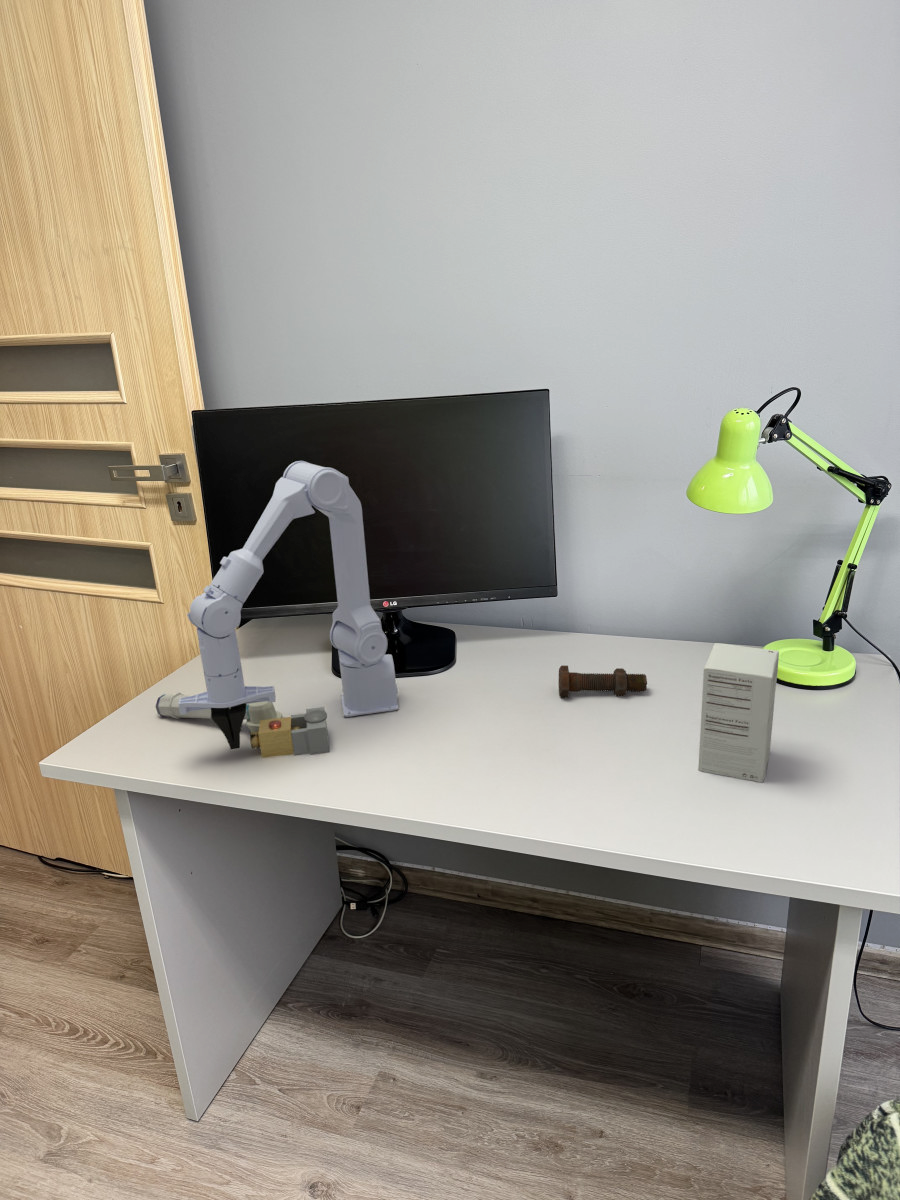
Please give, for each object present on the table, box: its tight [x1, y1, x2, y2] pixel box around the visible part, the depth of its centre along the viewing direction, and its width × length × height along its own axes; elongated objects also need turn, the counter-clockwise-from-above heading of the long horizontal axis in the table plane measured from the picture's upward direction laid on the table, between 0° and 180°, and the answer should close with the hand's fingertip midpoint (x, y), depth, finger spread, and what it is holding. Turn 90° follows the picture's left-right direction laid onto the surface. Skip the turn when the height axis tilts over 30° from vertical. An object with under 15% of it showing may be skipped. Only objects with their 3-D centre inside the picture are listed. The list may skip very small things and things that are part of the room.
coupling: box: [290, 706, 330, 756], centre depth 134 cm, size 6×7×5 cm
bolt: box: [558, 665, 648, 699], centre depth 145 cm, size 6×5×15 cm
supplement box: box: [697, 642, 780, 783], centre depth 120 cm, size 10×9×17 cm
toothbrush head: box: [155, 692, 284, 733], centre depth 142 cm, size 5×7×25 cm
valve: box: [249, 716, 302, 759], centre depth 133 cm, size 8×4×5 cm, turn 99°
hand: (235, 746), depth 133 cm, fingers closed
